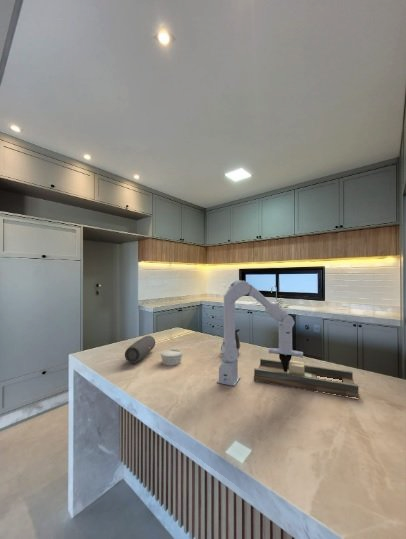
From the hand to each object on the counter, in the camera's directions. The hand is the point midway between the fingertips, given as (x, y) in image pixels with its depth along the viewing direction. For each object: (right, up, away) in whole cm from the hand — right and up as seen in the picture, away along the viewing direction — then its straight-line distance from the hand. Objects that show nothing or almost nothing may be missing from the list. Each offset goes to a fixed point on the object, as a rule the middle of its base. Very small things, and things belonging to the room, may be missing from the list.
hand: (285, 371), depth 108 cm
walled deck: (+6, -3, -3) cm, 8 cm away
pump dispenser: (-20, -4, +34) cm, 40 cm away
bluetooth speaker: (-71, -4, +25) cm, 76 cm away
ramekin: (-54, -4, +19) cm, 57 cm away
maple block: (+4, -1, -2) cm, 5 cm away
